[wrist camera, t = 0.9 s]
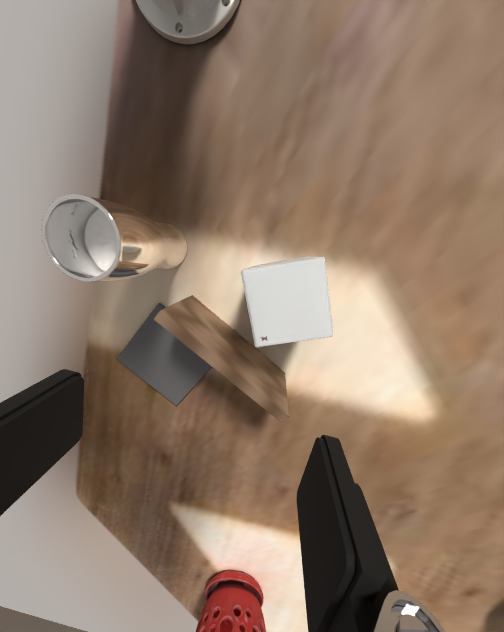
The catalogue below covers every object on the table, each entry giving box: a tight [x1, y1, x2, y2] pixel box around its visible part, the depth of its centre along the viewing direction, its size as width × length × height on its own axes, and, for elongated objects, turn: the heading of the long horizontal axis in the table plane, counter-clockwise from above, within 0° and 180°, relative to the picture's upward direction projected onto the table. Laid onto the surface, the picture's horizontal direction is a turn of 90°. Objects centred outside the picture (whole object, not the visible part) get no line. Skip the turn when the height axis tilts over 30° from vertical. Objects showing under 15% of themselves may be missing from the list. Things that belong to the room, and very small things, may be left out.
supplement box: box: [241, 257, 333, 348], centre depth 27 cm, size 7×7×13 cm
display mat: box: [117, 303, 212, 406], centre depth 37 cm, size 12×12×1 cm
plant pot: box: [196, 571, 266, 632], centre depth 43 cm, size 13×13×12 cm
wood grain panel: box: [154, 295, 289, 423], centre depth 30 cm, size 18×1×10 cm, turn 50°
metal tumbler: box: [42, 194, 187, 282], centre depth 26 cm, size 7×7×15 cm
